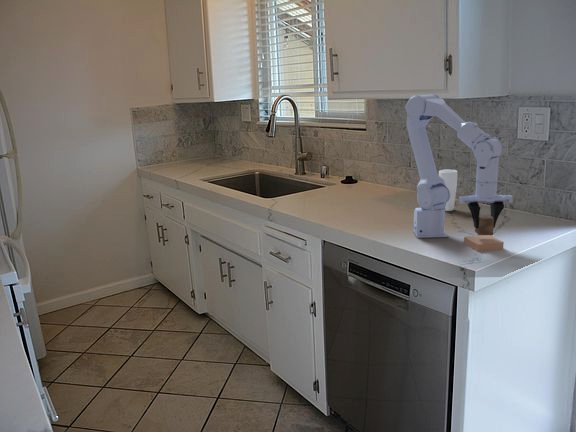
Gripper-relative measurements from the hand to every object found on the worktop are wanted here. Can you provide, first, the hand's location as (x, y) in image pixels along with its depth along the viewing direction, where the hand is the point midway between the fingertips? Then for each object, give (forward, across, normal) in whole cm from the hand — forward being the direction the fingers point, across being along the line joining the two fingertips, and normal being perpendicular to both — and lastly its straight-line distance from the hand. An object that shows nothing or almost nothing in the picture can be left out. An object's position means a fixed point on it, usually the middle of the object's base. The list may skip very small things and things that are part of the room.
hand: (484, 227), depth 151 cm
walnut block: (+2, 0, 0) cm, 2 cm away
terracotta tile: (+6, 0, 0) cm, 6 cm away
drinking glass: (+6, 0, +45) cm, 45 cm away
